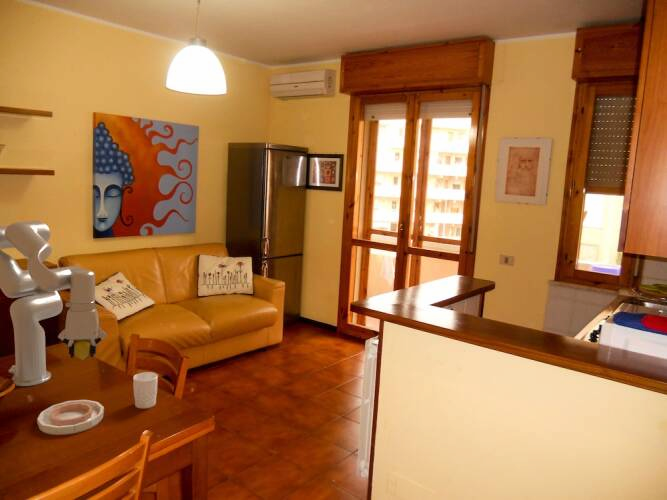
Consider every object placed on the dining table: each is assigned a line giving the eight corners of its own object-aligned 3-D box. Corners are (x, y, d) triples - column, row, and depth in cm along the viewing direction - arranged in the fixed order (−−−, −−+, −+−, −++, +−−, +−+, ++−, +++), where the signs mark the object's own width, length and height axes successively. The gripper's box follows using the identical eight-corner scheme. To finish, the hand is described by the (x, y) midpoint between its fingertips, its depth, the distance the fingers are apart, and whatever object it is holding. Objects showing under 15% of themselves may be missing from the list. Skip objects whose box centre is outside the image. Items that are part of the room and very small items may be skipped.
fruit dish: (24, 429, 149) (23, 420, 149) (68, 403, 167) (67, 395, 166) (75, 439, 146) (75, 429, 145) (115, 411, 163) (115, 403, 163)
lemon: (94, 357, 175) (94, 336, 174) (85, 363, 170) (85, 341, 169) (79, 356, 176) (79, 334, 175) (70, 361, 170) (70, 339, 169)
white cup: (162, 401, 172) (162, 374, 171) (147, 411, 165) (147, 383, 163) (144, 397, 174) (144, 370, 173) (128, 406, 167) (127, 378, 166)
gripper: (52, 309, 164) (52, 361, 167) (108, 309, 169) (107, 359, 172) (57, 303, 171) (57, 353, 174) (111, 303, 176) (110, 351, 179)
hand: (82, 355), depth 173 cm, fingers closed on lemon, 5 cm apart
